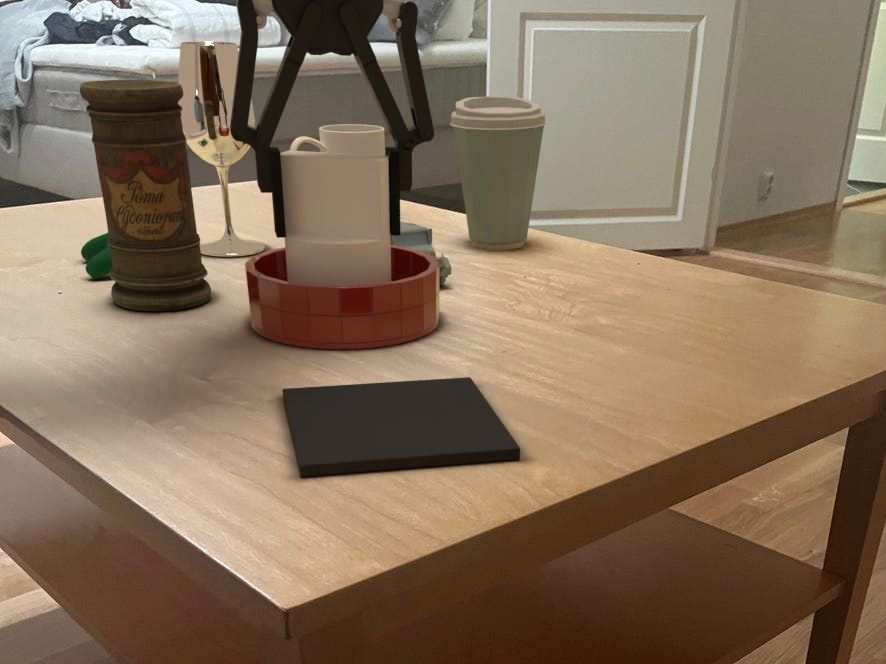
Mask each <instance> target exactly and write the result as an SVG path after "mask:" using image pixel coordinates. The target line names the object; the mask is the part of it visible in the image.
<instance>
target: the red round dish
mask: <svg viewBox="0 0 886 664" xmlns="http://www.w3.org/2000/svg"><path fill="white" fill-rule="evenodd" d="M244 270H245V279H246V289H247V298H248V308H249V317H250V324H251V328H252V330H253V331H254V332H255V333H256V334H258V335H260V336H261V337H263V338H265V339H267V340H270V341H273V342H277V343H280V344H284V345H287V346H288V345H289V346H293V347H294V346H295V347H298V348H299V347H300V348H306V349H307V348H309V349H319V350H360V349H361V350H362V349H373V348H374V349H375V348H382V347H384V348H385V347H389V346H394V345H401V344H405V343H407V342H411V341H415V340H418V339H420V338H423V337H425V336H427V335H428V334H430V333H432V332H433V331H435V329H436V328H438V325H439V317H440V314H441V313H440V312H441V311H440V285H439V263H438V261H437V260H436V259H435V258H434V257H433V256H431V255H428V254H426V253H423V252H421V251H418V250H414V249H409V248H405V247H400V246H395V245H391V282H384V283H377V284H368V285H343V286H335V285H311V284H303V283H296V282H288V278H287V264H286V250H285V246H284V247H279V248H273V249H270V250H265V251H262V252H260V253H257V254H254V255H252V257H250V258H249V259H248V260H247V261H246V262H245V263H244Z"/></svg>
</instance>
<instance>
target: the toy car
mask: <svg viewBox="0 0 886 664" xmlns="http://www.w3.org/2000/svg"><path fill="white" fill-rule="evenodd" d="M400 232H401V235H391V234H390V237H391V245H395V246H400V247H405V248H409V249H414V250H418V251H421V252H423V253H426V254H428V255H431V256H433V257H434V258H435V259H436V260H437V261H438V263H439V286H440V285H444V284H445V282H446V280H447V279H446V278H448V277H449V276H451V275H452V265H451V263H450V261H449V258H448V257H446V256H444V253H441V256H437V255H436V254H437V253H436V251H435V249H434V246H433V228H428V227H425V226H422V225H419V224H416V223H412V222H406V221H400Z"/></svg>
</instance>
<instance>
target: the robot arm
mask: <svg viewBox="0 0 886 664" xmlns="http://www.w3.org/2000/svg"><path fill="white" fill-rule="evenodd" d="M235 6H236V12H237V17H238V21H239V27H240V37H239V38H240V39H239V47H238V51H239V54H238V63H237V71H236V80H235V89H234V97H233V106H232V114H231V123H230V132H231V135H232V137H233V139H234V140H236V141H240V142H243V143H245V144H248V145H250V148H252V149H253V150H254V158H255V159H254V161H255V171H256V173H255V174H256V183H257V186H258V188H259V191H260V193H261V194H267V193H268V194H269V193H270V194H271V200H272V201H271V202H272V212H273V214H272V215H273V226H274V233H275V236H276V238H278V239H279V238H284V239H285V237H286V228H285V214H284V200H283V186H282V171H281V157H280V153H281V150H280V149H279V147H278V146H271V144H272V142H273V139H274V136H275V134H276V131H277V129H278V127H279V123H280V121H281V118H282V116H283V113H284V110H285V108H286V105H287V103H288V100H289V98H290V95H291V93H292V91H293V87H294V84H295V83H296V80H297V77H298V76H299V75H298V74H299V71H300V69H301V67H302V65H303V63H304V60H305V59H306V56H307V54H309V55H310V56H323V55H326V54H330V53H332V54H334V55H338V56H341V57H342V56H344V57H351V56H353V57H354V59H355V61H356V63H357V65H358V67H359V70H360V71H361V73H362V76H363V77H364V80H365V82H366V84H367V86H368V88H369V91H370V93H371V96H372V97H373V100H374V101H375V103H376V106H377V108H378V110H379V112H380V114H381V117H382V118H383V121H384V123H385V126H386V127H387V130H388V131H389V134H390V137H391V138H392V140H393V141H394V142H393V143H394V146H385V156H389V181H390V234H391V235H401V232H400V222H401V192H411V190H412V187H413V151H414V149H415V148H416V147H417V146H419V145H421V144H423V143H426V142H429V143H430V142H431V141H432V140H433V139H434V137H435V128H434V123H433V119H432V113H431V108H430V104H429V98H428V93H427V88H426V82H425V78H424V72H423V68H422V63H421V58H420V53H419V52H420V51H419V48H418V43H417V38H416V37H417V25H418V15H419V8H418V6H417V4H416V3H415V2H414V1H411V0H402V1H397V0H236V1H235ZM273 11H274V14H276V16H277V17H278V19H279V20H280V22H281V23H282V25H283V26H284V28H285V29H286V31H287V32H288V34H289V35H290V36H289V39H288V41H287V44H286V47H285V50H284V53H283V56H282V59H281V61H280V64H279V67H278V70H277V73H276V75H275V77H274V80H273V82H272V86H271V89H270V91H269V94H268V96H267V99H266V102H265V104H264V107H263V109H262V112H261V115H260V117H259V120H258V122H257V125H256V127H255V128H253V127H251V126H248V119H249V111H250V103H251V100H252V95H253V88H254V87H253V86H254V80H255V79H254V78H255V71H256V63H257V54H258V47H259V30H261V29H264V28H265V27H266V25H267V22H268V15H269V14H270V13H271V12H273ZM381 15H383V16H384V17H385V18H386V22H387V26H388V28H389V31H390V30H391V32H394V33H395V42H396V48H397V52H398V57H399V62H400V69H401V72H402V78H403V82H404V87H405V91H406V96H407V101H408V106H409V111H410V115H411V120H412V126H410V127H408V126H407V124H406V122H405V120H404V118H403V115H402V113H401V111H400V109H399V107H398V105H397V104H398V103H397V102H396V100H395V98H394V96H393V94H392V91H391V89H390V86H389V84H388V82H387V79H386V78H385V76H384V73H383V71H382V68H381V67H380V65H379V62H378V60H377V56H376V54H375V52H374V49H373V47H372V45H371V44H370V41H369V39H368V37H369V36H370V33H371V32H372V30H373V29H374V27H375V25H376V23H377V22H378V20H379V19H380V17H381Z"/></svg>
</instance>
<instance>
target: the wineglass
mask: <svg viewBox="0 0 886 664" xmlns="http://www.w3.org/2000/svg"><path fill="white" fill-rule="evenodd" d="M238 54H239V47H238V45H237V43H236V42H230V41H229V42H228V41H182V42H180V47H179V61H178V73H177V74H178V77H177V83H180V84H181V86H182V89H183V97H182V98H181V99H180V100H179V101H178V104H179V105H180V106H181V107H182V111H181V114H182V115H181V120H182V127H183V133H184V135H185V137H186V139H187V140H186V142H185V143H186V145H187V146H188V147H189V149H191V151H192V152H193V153H194V154H195V155H197V156H198V157H199V158H200V159H201V160H203V161H205V162H206V163H208V164H210V165H213V166H214V167H215V169H216V170H217V174H218V178H219V183H220V190H221V197H222V198H221V199H222V206H223V207H222V208H223V216H224V232H223V235H222V237H220V239H217V240H210V241H205V242H202V243H200V250H201V255H205V256H209V257H211V256H212V257H220V258H236V257H247V256H254V255H258V254H261V253H263V252H265V251H266V244H265V243H263V242H260V241H256V240H251V239H241V238H240V237H239V236H238V235H237V233H236V232H235V230H234V226H233V223H232V222H233V221H232V215H231V206H230V205H231V204H230V195H229V181H228V180H229V178H228V177H229V168H230V165H233V164H235V163H236V162H238V161H240V160H241V159H242V158H243V157H244V156H245V154H246V153H248V151H249V150H250V149H251V146H250V145H248V144H245V143H243V142H240V141H236V140H234V139H233V137H232V135H231V132H230V123H231V114H232V106H233V97H234V89H235V80H236V71H237V63H238ZM248 126H251V127H253V128H256V118H255V112H254V105H253V100H252V99H251V103H250V111H249V119H248Z"/></svg>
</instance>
